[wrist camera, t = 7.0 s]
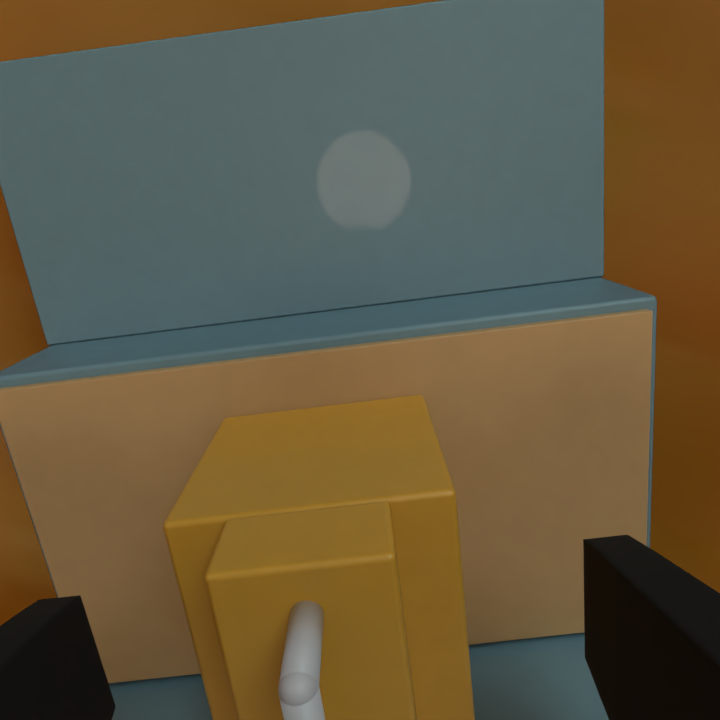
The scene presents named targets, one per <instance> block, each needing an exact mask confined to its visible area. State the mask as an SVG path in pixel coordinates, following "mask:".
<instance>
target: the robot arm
mask: <svg viewBox="0 0 720 720" xmlns="http://www.w3.org/2000/svg"><path fill="white" fill-rule="evenodd" d="M583 552H584V634H585V659H586V662H587V664H588V667H589V669H590V672H591V675H592V677H593V680H594V683H595V685H596V688H597V690H598V693H599V696H600V698H601V701H602V703H603V706H604V708H605V711H606V713H607V716H608V718H609V720H720V593H718V592H717V591H715V590H713V589H712V588H710V587H709V586H707V585H706V584H704V583H703V582H701V581H700V580H698V579H696V578H695V577H693V576H692V575H690V574H689V573H687V572H686V571H684V570H683V569H681V568H680V567H678V566H677V565H675V564H673V563H672V562H670V561H669V560H667V559H666V558H664V557H663V556H661V555H660V554H658V553H656V552H655V551H653V550H652V549H650V548H649V547H647V546H645V545H644V544H642V543H641V542H639V541H637V540H636V539H634V538H632V537H631V536H629V535H619V536H610V537H601V538H591V539H583ZM115 707H116V706H115V702H114V699H113V696H112V693H111V690H110V687H109V684H108V680H107V677H106V674H105V671H104V668H103V665H102V662H101V658H100V655H99V652H98V649H97V646H96V643H95V640H94V636H93V633H92V630H91V627H90V624H89V621H88V618H87V614H86V611H85V608H84V605H83V602H82V599H81V596H80V595H78V596H69V597H60V598H51V599H42V600H38V601H37V602H35V603H34V604H32V605H30V606H29V607H27V608H26V609H24V610H23V611H21V612H20V613H18V614H17V615H15V616H14V617H12V618H11V619H10V620H8V621H7V622H5V623H4V624H3V625H1V626H0V720H112V717H113V714H114V711H115Z"/></svg>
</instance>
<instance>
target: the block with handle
mask: <svg viewBox="0 0 720 720" xmlns="http://www.w3.org/2000/svg"><path fill="white" fill-rule="evenodd" d="M163 529H164V533H165V537H166V541H167V544H168V548H169V552H170V556H171V560H172V564H173V568H174V571H175V575H176V579H177V583H178V587H179V591H180V595H181V599H182V602H183V606H184V610H185V614H186V618H187V622H188V626H189V630H190V633H191V637H192V641H193V645H194V649H195V653H196V657H197V660H198V664H199V668H200V672H201V676H202V680H203V684H204V688H205V691H206V695H207V699H208V703H209V707H210V711H211V715H212V719H213V720H475V714H474V702H473V691H472V679H471V667H470V655H469V643H468V631H467V619H466V608H465V596H464V584H463V572H462V560H461V548H460V536H459V525H458V513H457V501H456V492H455V489H454V486H453V483H452V480H451V477H450V474H449V471H448V468H447V465H446V462H445V459H444V456H443V453H442V450H441V447H440V444H439V441H438V438H437V435H436V433H435V430H434V427H433V424H432V421H431V418H430V415H429V412H428V409H427V406H426V403H425V400H424V398H423V396H422V395H414V396H405V397H397V398H388V399H380V400H372V401H363V402H355V403H347V404H338V405H330V406H322V407H313V408H305V409H296V410H288V411H280V412H271V413H263V414H255V415H246V416H238V417H230V418H225V419H223V421H222V423H221V425H220V426H219V428H218V430H217V431H216V433H215V435H214V437H213V438H212V440H211V442H210V444H209V445H208V447H207V449H206V451H205V452H204V454H203V456H202V457H201V459H200V461H199V463H198V464H197V466H196V468H195V470H194V471H193V473H192V475H191V476H190V478H189V480H188V482H187V483H186V485H185V487H184V489H183V490H182V492H181V494H180V495H179V497H178V499H177V501H176V502H175V504H174V506H173V508H172V509H171V511H170V513H169V515H168V516H167V518H166V520H165V521H164V525H163Z"/></svg>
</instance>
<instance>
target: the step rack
mask: <svg viewBox="0 0 720 720" xmlns="http://www.w3.org/2000/svg"><path fill="white" fill-rule="evenodd" d="M0 185H1V189H2V192H3V196H4V199H5V202H6V206H7V209H8V213H9V216H10V219H11V223H12V226H13V229H14V233H15V236H16V240H17V243H18V246H19V250H20V253H21V257H22V260H23V263H24V267H25V270H26V274H27V277H28V280H29V284H30V287H31V291H32V294H33V297H34V301H35V304H36V307H37V311H38V314H39V318H40V321H41V324H42V328H43V331H44V335H45V338H46V341H47V344H48V345H52V346H50V347H48V348H46V349H44V350H42V351H40V352H38V353H36V354H34V355H32V356H30V357H28V358H26V359H24V360H22V361H20V362H18V363H16V364H14V365H12V366H10V367H8V368H6V369H4V370H2V371H0V427H1V430H2V432H3V435H4V438H5V441H6V444H7V447H8V450H9V453H10V456H11V459H12V462H13V465H14V468H15V471H16V474H17V477H18V480H19V483H20V486H21V489H22V492H23V495H24V498H25V501H26V504H27V507H28V510H29V513H30V516H31V519H32V522H33V525H34V528H35V531H36V534H37V537H38V540H39V543H40V546H41V549H42V552H43V555H44V558H45V561H46V564H47V567H48V570H49V573H50V576H51V579H52V582H53V585H54V588H55V591H56V594H57V597H58V598H60V597H69V596H78V595H80V596H81V599H82V602H83V605H84V608H85V611H86V614H87V618H88V621H89V624H90V627H91V630H92V633H93V636H94V640H95V643H96V646H97V649H98V652H99V655H100V658H101V662H102V665H103V668H104V671H105V674H106V677H107V680H108V684H109V687H110V690H111V693H112V696H113V699H114V702H115V706H116V707H115V711H114V714H113V717H112V720H213V719H212V715H211V711H210V707H209V703H208V699H207V695H206V691H205V688H204V684H203V680H202V676H201V672H200V668H199V664H198V660H197V657H196V653H195V649H194V645H193V641H192V637H191V633H190V630H189V626H188V622H187V618H186V614H185V610H184V606H183V602H182V599H181V595H180V591H179V587H178V583H177V579H176V575H175V571H174V568H173V564H172V560H171V556H170V552H169V548H168V544H167V541H166V537H165V533H164V529H163V525H164V521H165V520H166V518H167V516H168V515H169V513H170V511H171V509H172V508H173V506H174V504H175V502H176V501H177V499H178V497H179V495H180V494H181V492H182V490H183V489H184V487H185V485H186V483H187V482H188V480H189V478H190V476H191V475H192V473H193V471H194V470H195V468H196V466H197V464H198V463H199V461H200V459H201V457H202V456H203V454H204V452H205V451H206V449H207V447H208V445H209V444H210V442H211V440H212V438H213V437H214V435H215V433H216V431H217V430H218V428H219V426H220V425H221V423H222V421H223V419H225V418H230V417H238V416H246V415H255V414H263V413H271V412H280V411H288V410H296V409H305V408H313V407H322V406H330V405H338V404H347V403H355V402H363V401H372V400H380V399H388V398H397V397H405V396H414V395H422V396H423V398H424V400H425V403H426V406H427V409H428V412H429V415H430V418H431V421H432V424H433V427H434V430H435V433H436V435H437V438H438V441H439V444H440V447H441V450H442V453H443V456H444V459H445V462H446V465H447V468H448V471H449V474H450V477H451V480H452V483H453V486H454V489H455V492H456V501H457V513H458V525H459V536H460V548H461V560H462V572H463V584H464V596H465V608H466V619H467V631H468V643H469V655H470V667H471V679H472V691H473V702H474V714H475V720H609V718H608V716H607V713H606V711H605V708H604V706H603V703H602V701H601V698H600V696H599V693H598V690H597V688H596V685H595V683H594V680H593V677H592V675H591V672H590V669H589V667H588V664H587V662H586V659H585V634H584V552H583V539H591V538H601V537H610V536H619V535H629V536H631V537H632V538H634V539H636V540H637V541H639V542H641V543H642V544H644V545H645V546H647V547H649V548H650V522H651V487H652V451H653V416H654V381H655V346H656V310H657V300H656V297H655V296H653V295H650V294H647V293H644V292H641V291H638V290H635V289H632V288H630V287H627V286H624V285H621V284H618V283H615V282H612V281H609V280H606V279H604V278H601V277H602V276H603V275H604V0H444V1H437V2H430V3H422V4H415V5H408V6H401V7H393V8H386V9H379V10H372V11H365V12H357V13H350V14H343V15H336V16H328V17H321V18H314V19H307V20H300V21H292V22H285V23H278V24H271V25H263V26H256V27H249V28H242V29H235V30H227V31H220V32H213V33H206V34H198V35H191V36H184V37H177V38H169V39H162V40H155V41H148V42H141V43H133V44H126V45H119V46H112V47H104V48H97V49H90V50H83V51H76V52H68V53H61V54H54V55H47V56H39V57H32V58H25V59H18V60H11V61H3V62H0Z"/></svg>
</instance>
